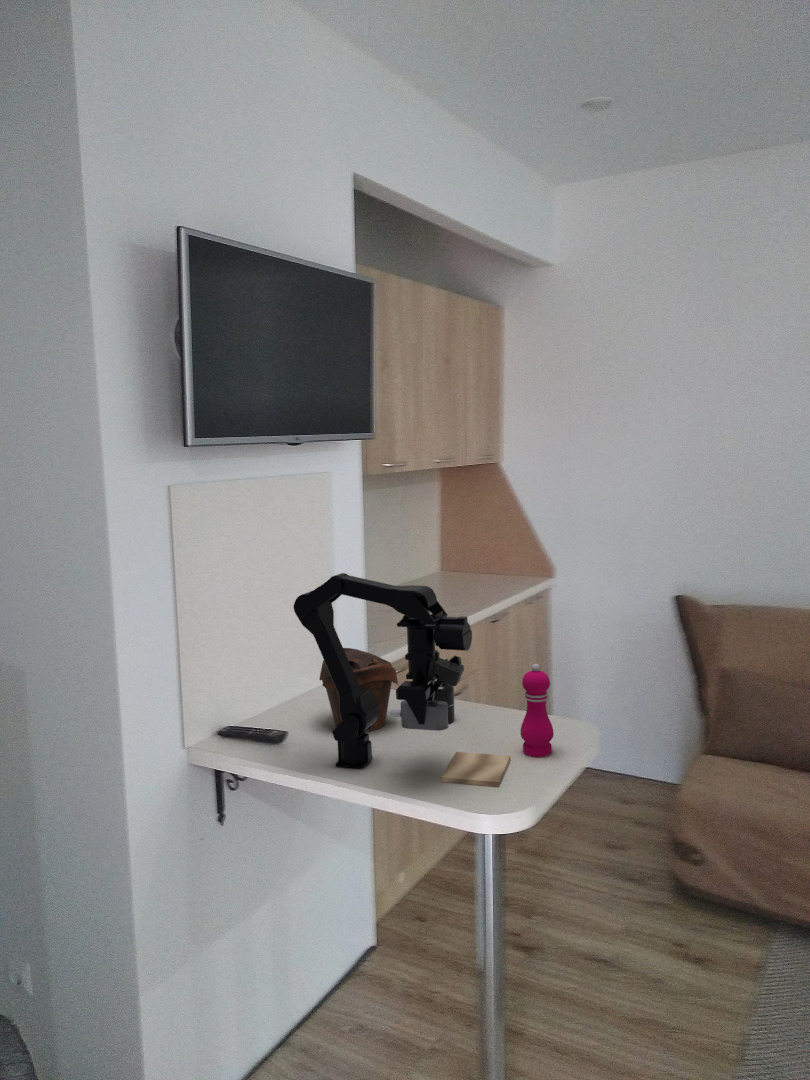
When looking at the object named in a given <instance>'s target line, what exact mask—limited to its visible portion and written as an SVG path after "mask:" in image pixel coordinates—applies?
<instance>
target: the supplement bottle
mask: <svg viewBox="0 0 810 1080" xmlns="http://www.w3.org/2000/svg"><path fill="white" fill-rule="evenodd" d="M437 681H441V680H439V679H437ZM442 682H443V683H442V685H441V686H440V687H439V688H438V689H437V690H436V691H435V695H434V700H433V701H444V702H447V707H448V724H451V723H453V722H454V720H455V718H456V717H455V716H456V714H455V686H451V685H449V684H448V683H446V682H444V681H442Z"/></svg>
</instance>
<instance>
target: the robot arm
mask: <svg viewBox="0 0 810 1080" xmlns="http://www.w3.org/2000/svg"><path fill="white" fill-rule="evenodd" d="M341 596H346V597H347V596H348V597H351V598H355V599H359V600H363V601H368V602H373V603H377V604H381V605H385V606H388V607H391V608H392V609H393V610H395V611H396V612H397V613H398V614H399V613H400V614H402V615H403V616H402V618H401V619H400V621H398V622H397V623H396V626H397V627H398V628H406V634H407V635H406V637H407V640H406V642H407V643H406V644H407V653H405V654H404V657H405V658H404V659H405V661H407V662H408V663H407V664H408V666H407V667H408V672H407V673H406V674H405V679H406V680H404V681H403V682H402V683H401V684H400V685H398V687H397V688H396V689H395V696H396V700H398V701H399V700H401V701H404V700H406V701H407V703H408V705H409V706H410V708H411V710H412V712H413V714H414V716H415V717H416V719H417V721H418V723H419V724H424V723H425V716H426V707H427V700H431V701H433V700H434V695H435V691H436V690H437V689H438V688H439V687H440V686H441V685H442V683H443V682H442V681H444V682H446V683H448V684H449V685H451V686H453V687H457V685H458V684H459V683H460V681H461V679H462V676H463V673H464V671H465V666H464V665H463V664H462V657H460V656H458V655H453V656H452V657H451V658H450V659H448V658H445V659H444V658H442V657H440V652H439V650H438V649H436V647H439V649H440V650H447V651H464V652H466V651H469V650H470V649H471V645H472V641H473V630H472V629H471V628H472V627H471V625H470V623H469V621H468V616H463V615H462V616H449V615H448V613H447V612H446V610H445V609H444V608H443V606H442V605H441V604H440V602H439V601H438V599H437V594H436V593H435V591H434V590H433V588H432V587H430V586H427V585H412V584H411V585H394V584H390V583H384V582H380V581H377V580H376V581H375V580H372V579H367V578H362V577H357V576H353V575H350V574H347V573H345V572H341V573H339V574H336V575H333V576H331V577H329V579H328V580H327V581H326V582H324V583H322V584H321V585H319V586H317V587H316V588H315V589H313V590H310V591H308V592H305V593H303V594H300V595H299V596H297V597H296V599H295V601H294V604H293V611H294V614H295V615H296V617H297V619H298V620H299V622H300V624H301V625H302V627H304V628H305V629H307V631H309V632H310V633H311V635H312V636H313V637H314V640H315V643H316V645H317V647H318V649H319V652H320V654H321V657H322V658H323V660H324V661H325V663H326V666H327V668H328V670H329V673H330V675H331V677H332V680H333V682H334V684H335V687H336V689H337V691H338V694H339V712H340V716H341V720H342V722H341V723H340V724H339V725H338V726H337V727H336V726H335V728H334V729H333V730H332V731H331V734H332V736H333V739H334V740H335V742H337V758H338V760H337V762H336V763H335V766H336V767H341V768H353V769H364V768H366V766H367V765H368V764H369V763H370V761H372V759H373V757H374V756H373V751H372V748H373V747H372V746H373V745H372V740H370V733H368V732H370V731H369V730H371V727H372V724H374V723H375V722H376V720H377V718H378V715H379V711H378V707H379V705H378V703H377V702H376V700H375V698H374V694H373V692H372V690H369V691H368V692H366V691H364V690H363V689H362V688H361V687H360V686H359V684H358V682H357V679H356V677H355V675H354V672H353V670H352V668H351V665H350V663H349V661H348V658H347V656H346V654H345V651H344V649H343V648H344V647H343V645H342V642H341V639H340V638H339V636H338V632H337V631H336V629H335V626H334V623H335V622H334V621H335V620H334V619H335V617H334V616H335V615H334V612H335V611H334V607H333V603H334V602H335V601H336V600H339V598H340V597H341ZM430 613H431V614H430ZM437 679H439V680H441V681H437ZM371 731H372V730H371Z"/></svg>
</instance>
